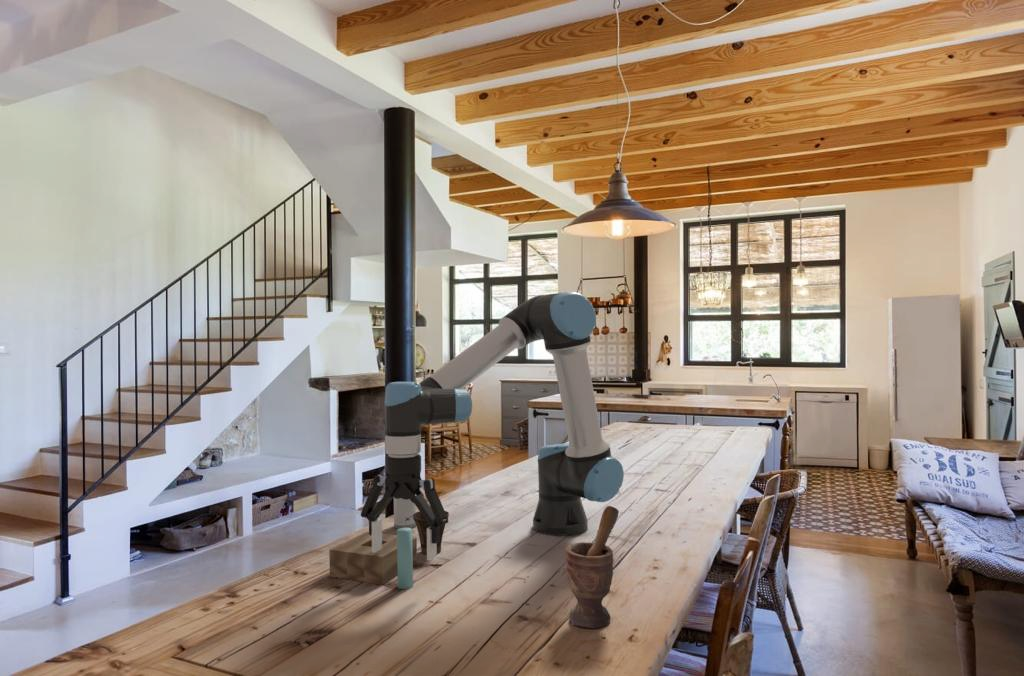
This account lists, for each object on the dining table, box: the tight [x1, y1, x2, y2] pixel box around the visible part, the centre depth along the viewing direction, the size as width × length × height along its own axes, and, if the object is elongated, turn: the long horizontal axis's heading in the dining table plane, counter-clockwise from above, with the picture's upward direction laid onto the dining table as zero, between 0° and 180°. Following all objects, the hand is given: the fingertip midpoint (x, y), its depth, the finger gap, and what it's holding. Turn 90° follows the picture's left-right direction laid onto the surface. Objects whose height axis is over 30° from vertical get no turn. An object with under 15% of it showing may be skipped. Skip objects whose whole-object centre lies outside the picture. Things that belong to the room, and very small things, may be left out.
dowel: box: [396, 528, 414, 590], centre depth 133 cm, size 3×3×12 cm
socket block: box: [328, 531, 418, 586], centre depth 143 cm, size 14×14×6 cm
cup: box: [413, 510, 450, 555], centre depth 156 cm, size 9×9×10 cm
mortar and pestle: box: [565, 505, 619, 629], centre depth 117 cm, size 12×9×20 cm
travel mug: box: [393, 495, 417, 529], centre depth 177 cm, size 6×7×20 cm
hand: (403, 554), depth 133 cm, fingers open, 13 cm apart
